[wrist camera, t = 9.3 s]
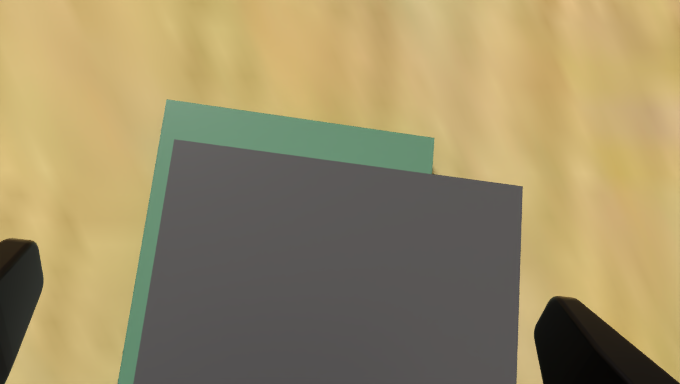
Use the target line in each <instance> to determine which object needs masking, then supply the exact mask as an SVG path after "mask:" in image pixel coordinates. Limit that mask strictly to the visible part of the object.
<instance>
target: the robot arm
mask: <svg viewBox="0 0 680 384" xmlns="http://www.w3.org/2000/svg"><path fill="white" fill-rule="evenodd" d="M42 288H43V272H42V266H41V260H40V255H39V249H38V246H37V244H36V243H35V242H34V241H31V240H24V239H14V238H9V239H5V240H3V241H1V242H0V384H5V382H6V380H7V378H8V376H9V373H10V371H11V369H12V366H13V364H14V361H15V359H16V356H17V354H18V351H19V349H20V346H21V343H22V341H23V338H24V336H25V333H26V330H27V328H28V325H29V323H30V320H31V318H32V315H33V312H34V310H35V307H36V305H37V302H38V300H39V297H40V294H41V292H42ZM534 339H535V344H536V349H537V355H538V360H539V365H540V370H541V375H542V380H543V384H680V383H679V382H678V381H676V380H675V379H674V378H673V377H671V376H670V375H669V374H668V373H667V372H665V371H664V370H663V369H662V368H660V367H659V366H658V365H657V364H656V363H654V362H653V361H652V360H651V359H650V358H648V357H647V356H646V355H645V354H643V353H642V352H641V351H640V350H639V349H637V348H636V347H635V346H634V345H632V344H631V343H630V342H629V341H628V340H626V339H625V338H624V337H623V336H621V335H620V334H619V333H618V332H617V331H615V330H614V329H613V328H612V327H611V326H609V325H608V324H607V323H606V322H604V321H603V320H602V319H601V318H600V317H598V316H597V315H596V314H595V313H593V312H592V311H591V310H590V309H589V308H587V307H586V306H585V305H584V304H582V303H581V302H580V301H579V300H577V299H575V298H571V297H562V296H555V297H553V298H551V299H550V301H549V302H548V304H547V306H546V308H545V309H544V311H543V313H542V315H541V317H540V318H539V320H538V322H537V324H536V326H535V330H534Z"/></svg>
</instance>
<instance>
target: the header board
mask: <svg viewBox="0 0 680 384" xmlns="http://www.w3.org/2000/svg"><path fill="white" fill-rule="evenodd" d="M174 139H176V140H184V141H191V142H199V143H206V144H213V145H221V146H228V147H235V148H243V149H250V150H257V151H265V152H272V153H280V154H287V155H294V156H302V157H309V158H316V159H324V160H331V161H339V162H346V163H353V164H361V165H368V166H375V167H383V168H390V169H398V170H405V171H412V172H420V173H427V174H432V165H433V150H434V138H431V137H424V136H417V135H410V134H403V133H396V132H389V131H382V130H375V129H368V128H361V127H354V126H347V125H341V124H334V123H327V122H320V121H313V120H306V119H299V118H292V117H285V116H278V115H271V114H264V113H257V112H251V111H244V110H237V109H230V108H223V107H216V106H209V105H202V104H195V103H188V102H181V101H174V100H167V101H166V106H165V112H164V118H163V124H162V130H161V135H160V141H159V147H158V153H157V159H156V164H155V170H154V176H153V182H152V188H151V193H150V199H149V205H148V211H147V217H146V222H145V228H144V234H143V240H142V246H141V251H140V257H139V263H138V269H137V275H136V280H135V286H134V292H133V298H132V304H131V309H130V315H129V321H128V327H127V333H126V338H125V344H124V350H123V356H122V362H121V367H120V373H119V379H118V384H133V382H134V376H135V370H136V364H137V358H138V352H139V346H140V340H141V334H142V329H143V323H144V317H145V311H146V305H147V299H148V293H149V287H150V281H151V275H152V269H153V263H154V257H155V251H156V245H157V239H158V233H159V227H160V221H161V215H162V209H163V203H164V197H165V191H166V185H167V179H168V173H169V167H170V161H171V155H172V149H173V143H174Z"/></svg>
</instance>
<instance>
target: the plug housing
mask: <svg viewBox="0 0 680 384" xmlns="http://www.w3.org/2000/svg"><path fill="white" fill-rule="evenodd" d="M522 189H523V186H515V185H508V184H501V183H493V182H486V181H479V180H471V179H464V178H456V177H449V176H442V175H434V174H427V173H420V172H412V171H405V170H398V169H390V168H383V167H375V166H368V165H361V164H353V163H346V162H339V161H331V160H324V159H316V158H309V157H302V156H294V155H287V154H280V153H272V152H265V151H257V150H250V149H243V148H235V147H228V146H221V145H213V144H206V143H199V142H191V141H184V140H176V139H174V143H173V149H172V155H171V161H170V167H169V173H168V179H167V185H166V191H165V197H164V203H163V209H162V215H161V221H160V227H159V233H158V239H157V245H156V251H155V257H154V263H153V269H152V275H151V281H150V287H149V293H148V299H147V305H146V311H145V317H144V323H143V329H142V334H141V340H140V346H139V352H138V358H137V364H136V370H135V376H134V382H133V384H516V378H517V346H518V315H519V283H520V252H521V220H522Z"/></svg>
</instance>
